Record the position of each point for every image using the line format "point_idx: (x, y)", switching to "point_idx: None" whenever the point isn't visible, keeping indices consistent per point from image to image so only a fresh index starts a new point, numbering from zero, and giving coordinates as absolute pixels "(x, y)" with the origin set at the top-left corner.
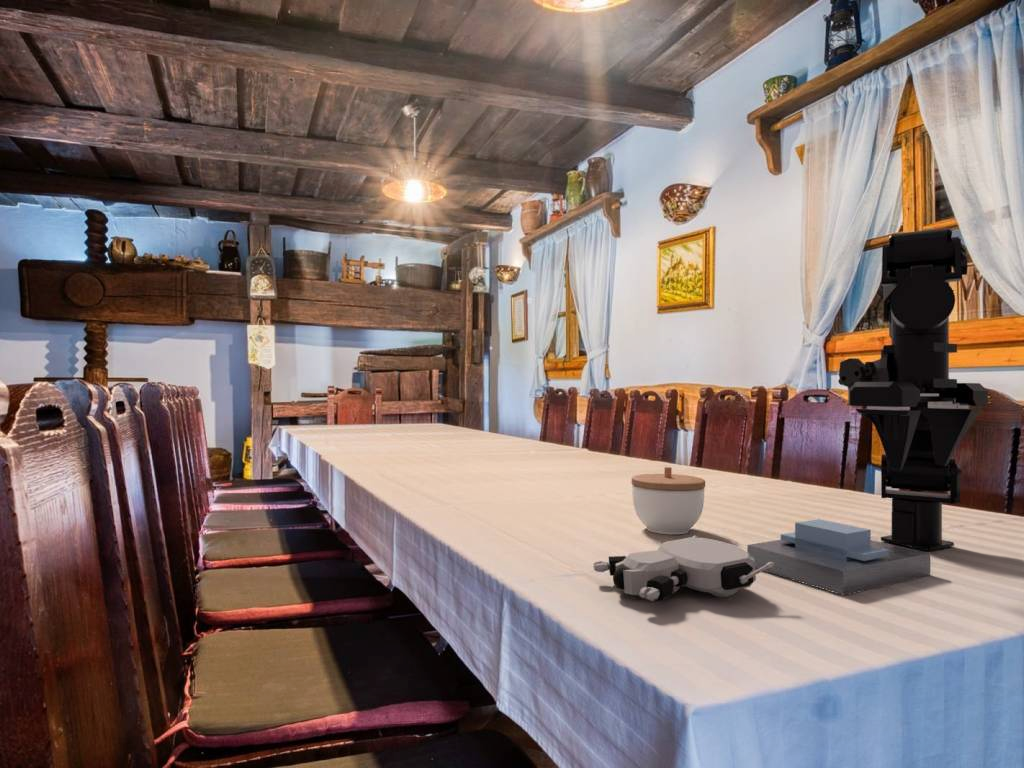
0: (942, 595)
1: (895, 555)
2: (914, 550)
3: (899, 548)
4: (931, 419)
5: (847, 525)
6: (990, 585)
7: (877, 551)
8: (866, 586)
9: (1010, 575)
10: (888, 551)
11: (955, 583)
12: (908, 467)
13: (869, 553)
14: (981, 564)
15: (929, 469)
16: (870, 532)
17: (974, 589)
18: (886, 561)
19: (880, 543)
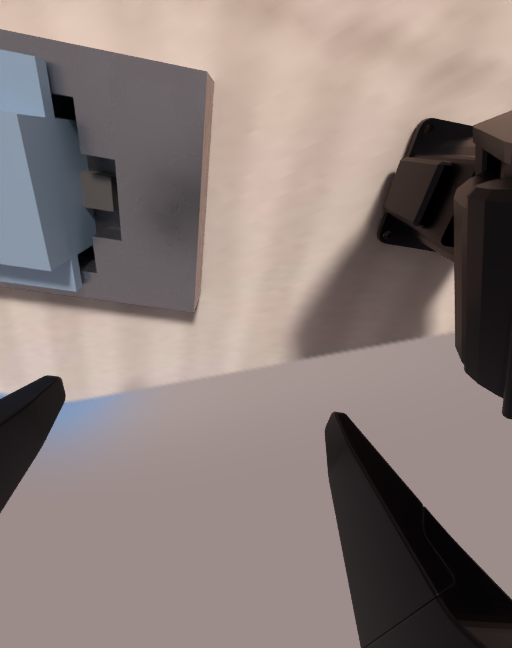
0: (112, 335)
1: (114, 285)
2: (185, 291)
3: (176, 269)
4: (451, 641)
5: (34, 215)
6: (219, 354)
7: (42, 285)
8: None
9: (300, 355)
10: (132, 266)
11: (187, 328)
12: (478, 277)
13: (14, 282)
14: (341, 318)
15: (471, 337)
16: (54, 268)
17: (180, 348)
18: (59, 292)
19: (185, 227)
